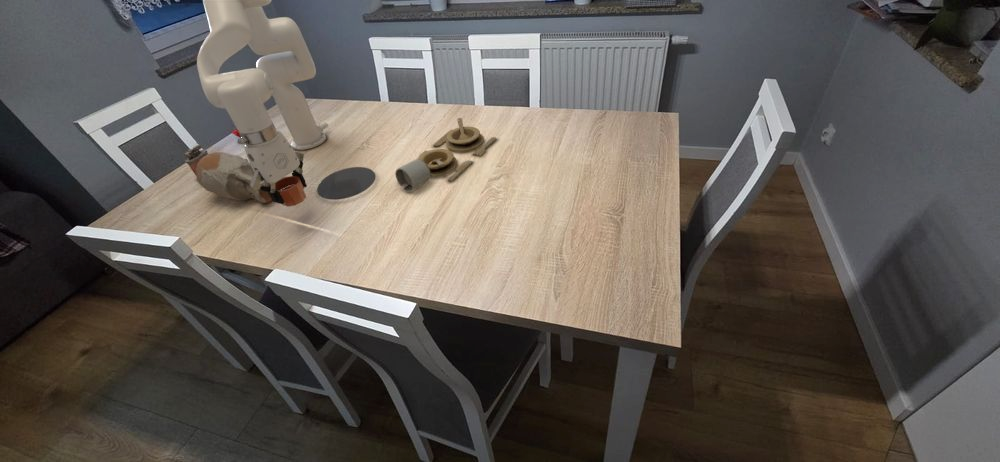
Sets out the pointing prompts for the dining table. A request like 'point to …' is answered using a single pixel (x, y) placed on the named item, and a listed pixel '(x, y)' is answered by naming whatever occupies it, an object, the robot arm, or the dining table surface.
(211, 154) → the amphora
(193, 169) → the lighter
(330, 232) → the dining table surface
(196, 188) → the dining table surface
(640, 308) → the dining table surface
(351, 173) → the plate
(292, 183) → the cup
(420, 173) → the ceramic mug
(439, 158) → the tableware set
